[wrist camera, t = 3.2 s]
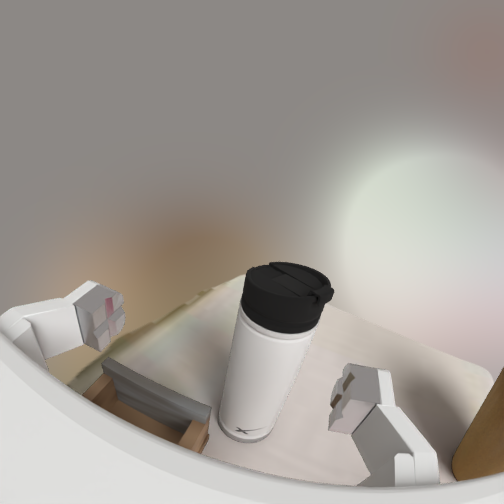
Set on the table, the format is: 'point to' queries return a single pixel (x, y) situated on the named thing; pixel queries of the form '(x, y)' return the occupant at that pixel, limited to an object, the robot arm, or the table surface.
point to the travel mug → (269, 345)
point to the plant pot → (483, 439)
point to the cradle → (151, 406)
